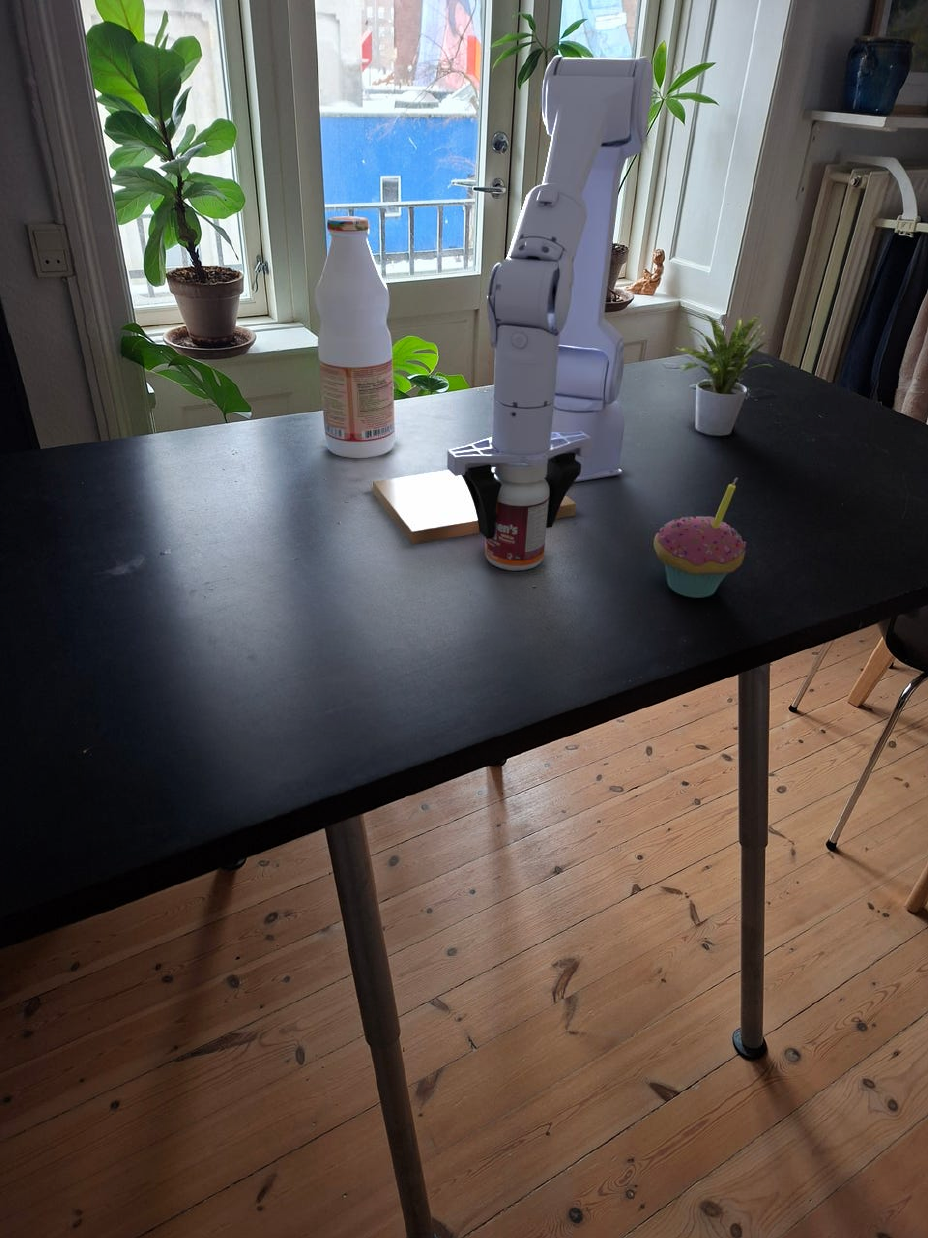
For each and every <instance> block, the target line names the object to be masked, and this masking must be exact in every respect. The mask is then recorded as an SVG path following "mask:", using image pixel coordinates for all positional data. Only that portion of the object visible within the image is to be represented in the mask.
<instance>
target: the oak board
mask: <svg viewBox="0 0 928 1238" xmlns="http://www.w3.org/2000/svg"><path fill="white" fill-rule="evenodd" d="M492 472H494V467H493V468H492ZM495 476H496V475H495ZM372 494H373V495H374V497H375V498H376V499H377V501H378V502H379V503H380V505H381V506H382V507H383V509H384V510H385V511H386V513H388V515H389V517H391V519H392V520H393V522H394V523H395V524H396V525H397V527H398V528H399V530H400V531H401V533H403V535H404V536H405V537H406V539H407V540H408V542H410V544H411V545H413V546H414V545H418V544H419V545H420V544H425V543H430V542H435V541H441V540H447V539H453V538H458V537H464V536H469V535H475V534H482V533H481V532H480V531H479V525H478V519H477V515H476V511H475V507H474V504H473V501H472V498H471V495H470V493H469V490H468V488H467V486H466V484H465V481H464V479H463V477H462V476H461V475H460V476H454V475H453V474H452V473H451V472H450V471H449V470H448V469H446V470H440V471H434V472H427V473H419V474H414V475H407V476H400V477H394V478H386V479H380V480H374V481H372ZM576 509H577V503H576V502H575V501H574V500H573V499H571V498H570V497H569V496H568V495H567V494H566V495H565V497H564V499H563V501H562V503H561V505H560V507H559V510H558V512H557V515H556V518H555V520H558V519H563V518H569V517H575V516H576Z"/></svg>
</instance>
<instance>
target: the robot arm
mask: <svg viewBox="0 0 928 1238" xmlns="http://www.w3.org/2000/svg"><path fill="white" fill-rule="evenodd" d="M653 87H654V67H653V64H652V63H651V61H650V59H649V57H648V56H639V58H621V57H620V58H619V57H618V58H616V57H614V58H613V57H564V56H563V55H555V56H553V58H552V59H551V61H550V62H549V64H548V65H547V67H546V69H545V73H544V77H543V83H542V90H541V91H542V93H541V112H542V113H541V114H542V119H543V123H544V125H545V126H546V133H547V135H549V136H550V137H551V141H550V146H549V151H548V156H547V161H546V166H545V171H544V174H543V175H544V176H543V180H542V184H539V185H537V186H535V187H534V188H532V189H531V190H530V191H529V192H528V194H526V197H525V200H524V203H523V206H522V210H521V213H520V216H519V219H518V222H517V224H516V225H517V226H516V229H515V232H514V235H513V238H512V241H511V245H510V248H509V251H508V254H507V256H506V258H504V259H503V260H502V262H501V263H500V262H497V263H496V264H495V265H494V266H493V268H492V271H491V273H490V277H489V282H488V289H487V297H486V313H487V318H488V322H489V329H490V331H489V332H490V335H489V336H490V337H489V343H490V347H491V348H493V349H494V365H493V366H494V367H493V387H492V388H493V390H492V418H491V437H489V438H486V439H482V440H479V441H476V442H473V443H470V444H467V445H464V446H461V447H460V446H459V447H456V448H450V449H447V450H446V451H447V454H446V455H447V456H446V457H447V461H446V463H447V465H446V468H447V469H446V470H449V471H450V472H451V473H452V474H453V475H454V476H460V475H461V476H462V477H463V479H464V481H465V484H466V486H467V488H468V490H469V493H470V495H471V498H472V501H473V504H474V507H475V511H476V515H477V519H478V525H479V531H480V532H481V533H480V534H481V535H482V536H483V537H484V538H485V540H486V539H491V538H493V537H494V532H495V511H496V504H497V499H498V495H499V491H500V488H501V485H502V484H501V483H500V482H499V481H498V480H497V479H496V478H495V477H494V476H495V473H494V472H492V468H493V467H499V464H503V463H526V464H527V465H529V466H536V465H543V464H547V475H546V477H545V478H544V479H545V480H546V481H547V483H548V485H549V489H550V491H549V504H548V515H547V526H546V529H551V528H553V526H554V523H555V521H556V519H555V518H556V515H557V512H558V510H559V507H560V505H561V503H562V501H563V499H564V497H565V495H566V496H567V493H568V491H569V489H570V488H571V487H572V485H573V484H574V483H577V482H582V481H589V480H595V479H601V478H608V477H613V476H619V475H622V473H623V470H622V469H621V468H620V463H621V461H620V460H621V454H622V447H623V440H624V433H625V415H624V410H623V408H622V406H621V404H620V403H619V401H617V399H618V397H619V394H620V390H621V386H622V381H623V375H624V368H625V357H624V354H625V344H626V343H625V341H624V337H623V336H622V334H621V333H620V332H619V331H618V330H617V329H615V327H614V326H613V325H611V324H610V323H609V321H608V320H606V318H605V311H606V303H607V293H608V285H609V277H610V267H611V258H612V252H613V251H612V250H613V242H614V232H615V226H616V225H615V224H616V216H617V215H616V214H617V209H618V208H617V207H618V199H619V189H620V182H621V177H622V173H623V170H624V167H625V165H626V161H627V159H629V158H632V157H634V156H637V155H638V154H641V153H642V152H643V149H644V144H645V143H646V140H647V136H648V135H647V134H648V126H649V120H650V110H651V104H652V102H651V101H652V95H653Z"/></svg>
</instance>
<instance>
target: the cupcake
mask: <svg viewBox="0 0 928 1238" xmlns="http://www.w3.org/2000/svg"><path fill="white" fill-rule="evenodd" d="M738 480H739V478H738V477H735V478H734V479H733V482H732V483H729V484H728V485H727V488H726V491H725V493H724V495H723V498H722V501H721V503H720V505H719V507H718V510H717V513H716V515H715V517H713V516H709V515H706V516H705V515H702V516H701V515H700V516H698V515H697V516H695V515H693V516H691V515H687V516H682V517H681V516H680V517H679V518H673V519H672V520H671V521H668V522H667V523H664V524H663V525H662V526H661V527H659V529H658V530H657V532H656V534H655V537H654V539H653V548H654V551H655V552H656V557H657V558H658V559H659V560H660V561H661V562H662V563H663V564H664V569H665V575H666V582H667V585H668V587H669V588H670V589H671V590H672V591H673V592H675V593H676V594H679V595H681V596H684V597H688V598H694V599H696V598H697V599H698V598H699V599H701V598H707V597H711V596H712V595H714V594H715V593H716V591H717V590H718V588H719V586H720V585H721V583H722V582H723V580H724V578H725V577H726V576H727V575H728V574H729V573H733V572H734V571H736V570H737V569H738V568H739V567H740V566H741V565H742V564H743V561H744V558H745V554H746V551H747V549H746V548H747V547H746V546H747V545H746V544H747V541H745V540H744V539H743V537H742V536H741V534H740V533H738V531H737V529H735V528H734V527H731V526H730V524H729V523H727V522H725V521H723V519H724V517H725V514H726V512H727V509H728V507H729V505H730V502H731V499H732V497H733V495H734V493H735V490H736V487H737V486H736V485H735V484H736V483H737V481H738Z"/></svg>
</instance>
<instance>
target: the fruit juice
mask: <svg viewBox="0 0 928 1238" xmlns="http://www.w3.org/2000/svg"><path fill="white" fill-rule="evenodd" d="M326 228H327V235H328V236H330V242H329V246H328V249H327V254H326V259H325V262H324V267H323V270H322V273H321V276H320V279H319V280H318V283H317V285H316V287H315V292H314V303H315V304H314V305H315V309H316V312H317V314H318V317H319V320H320V328H319V331H318V333H317V334H318V335H317V357H318V364H319V365H318V368H319V379H320V381H319V382H320V392H321V405H322V417H323V430H324V440H325V445H326V447H327V449H328V451H329V452H330V453H332V454H334V455H337V456H339V457H344V458H348V459H349V458H350V459H367V458H374V457H379V456H382V455H384V454H387V453H389V452H390V451H391V450H392V449H393V448H394V446H395V442H396V427H395V425H396V424H395V395H394V393H395V391H394V367H393V366H394V363H393V361H394V359H393V357H394V355H393V341H392V335H391V332H390V330H389V328H388V324H387V319H388V314H389V309H390V304H391V303H390V292H389V289H388V286H387V283H385V281H384V279H383V278H382V276H381V274H380V272H379V270H378V269H379V268H378V266H377V264H376V261H375V258H374V256H373V253H372V250H371V247H370V245H369V241H368V235H370V228H371V227H370V221H369V219H368V218H367V217H363V216H362V217H361V216H353V215H345V216H344V215H341V216H340V215H339V216H331V217H328V219H327V221H326Z"/></svg>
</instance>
